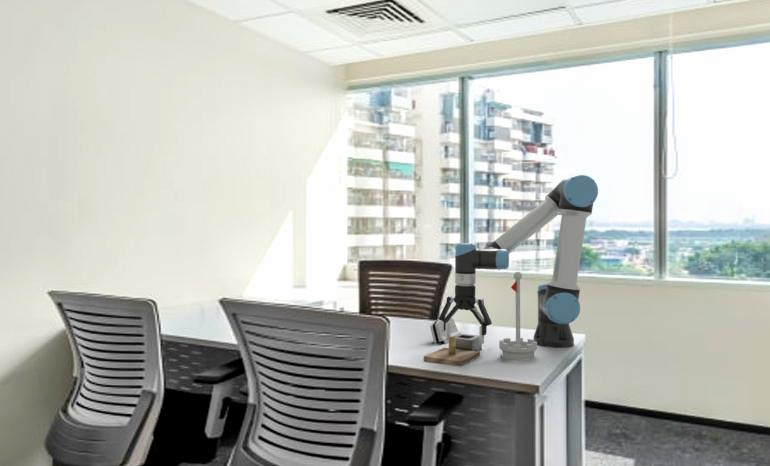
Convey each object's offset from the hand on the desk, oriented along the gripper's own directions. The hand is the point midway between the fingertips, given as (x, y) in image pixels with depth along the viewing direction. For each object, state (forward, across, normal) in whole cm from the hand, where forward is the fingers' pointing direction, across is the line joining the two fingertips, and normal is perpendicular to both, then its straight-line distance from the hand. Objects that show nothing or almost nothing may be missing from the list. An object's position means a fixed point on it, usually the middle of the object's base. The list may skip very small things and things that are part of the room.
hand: (464, 341), depth 216 cm
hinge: (+4, -14, +14) cm, 21 cm away
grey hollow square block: (+3, 0, 0) cm, 3 cm away
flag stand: (+3, +20, 0) cm, 21 cm away
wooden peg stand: (+3, +2, -14) cm, 14 cm away
